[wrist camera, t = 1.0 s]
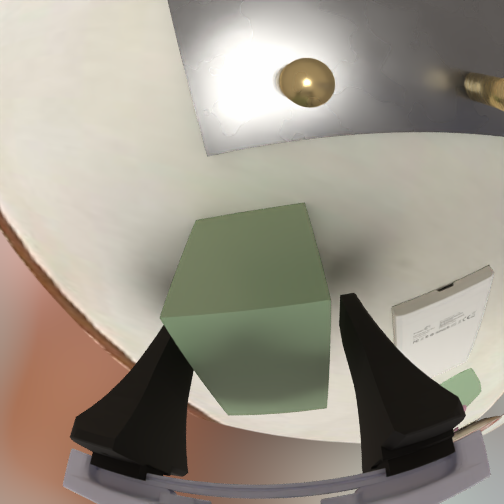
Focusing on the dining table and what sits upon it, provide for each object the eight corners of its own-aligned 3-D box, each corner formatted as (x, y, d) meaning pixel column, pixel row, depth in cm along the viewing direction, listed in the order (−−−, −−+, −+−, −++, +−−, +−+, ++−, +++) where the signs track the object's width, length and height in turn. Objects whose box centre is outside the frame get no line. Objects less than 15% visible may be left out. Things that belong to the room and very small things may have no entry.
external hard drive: (393, 377, 23) (388, 300, 16) (463, 348, 21) (486, 260, 14) (397, 391, 22) (396, 319, 15) (468, 361, 19) (497, 275, 13)
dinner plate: (485, 423, 54) (487, 430, 51) (419, 453, 62) (421, 461, 59) (510, 398, 40) (513, 407, 37) (428, 440, 48) (430, 451, 45)
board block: (304, 201, 12) (330, 299, 7) (314, 319, 17) (326, 408, 12) (196, 219, 13) (159, 318, 8) (235, 328, 17) (228, 415, 12)
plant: (356, 409, 27) (365, 477, 20) (504, 341, 21) (529, 400, 14) (379, 441, 40) (385, 481, 32) (474, 401, 33) (485, 439, 26)
